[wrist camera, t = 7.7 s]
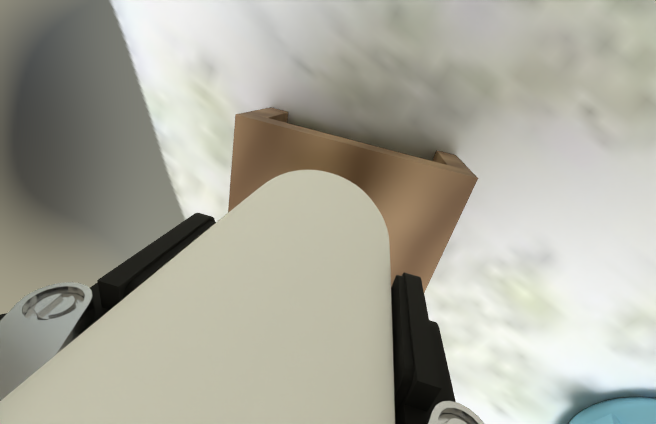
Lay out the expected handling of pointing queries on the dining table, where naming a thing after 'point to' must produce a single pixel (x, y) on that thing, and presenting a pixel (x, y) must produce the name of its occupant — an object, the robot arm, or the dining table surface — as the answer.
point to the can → (242, 324)
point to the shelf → (360, 182)
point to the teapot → (619, 412)
